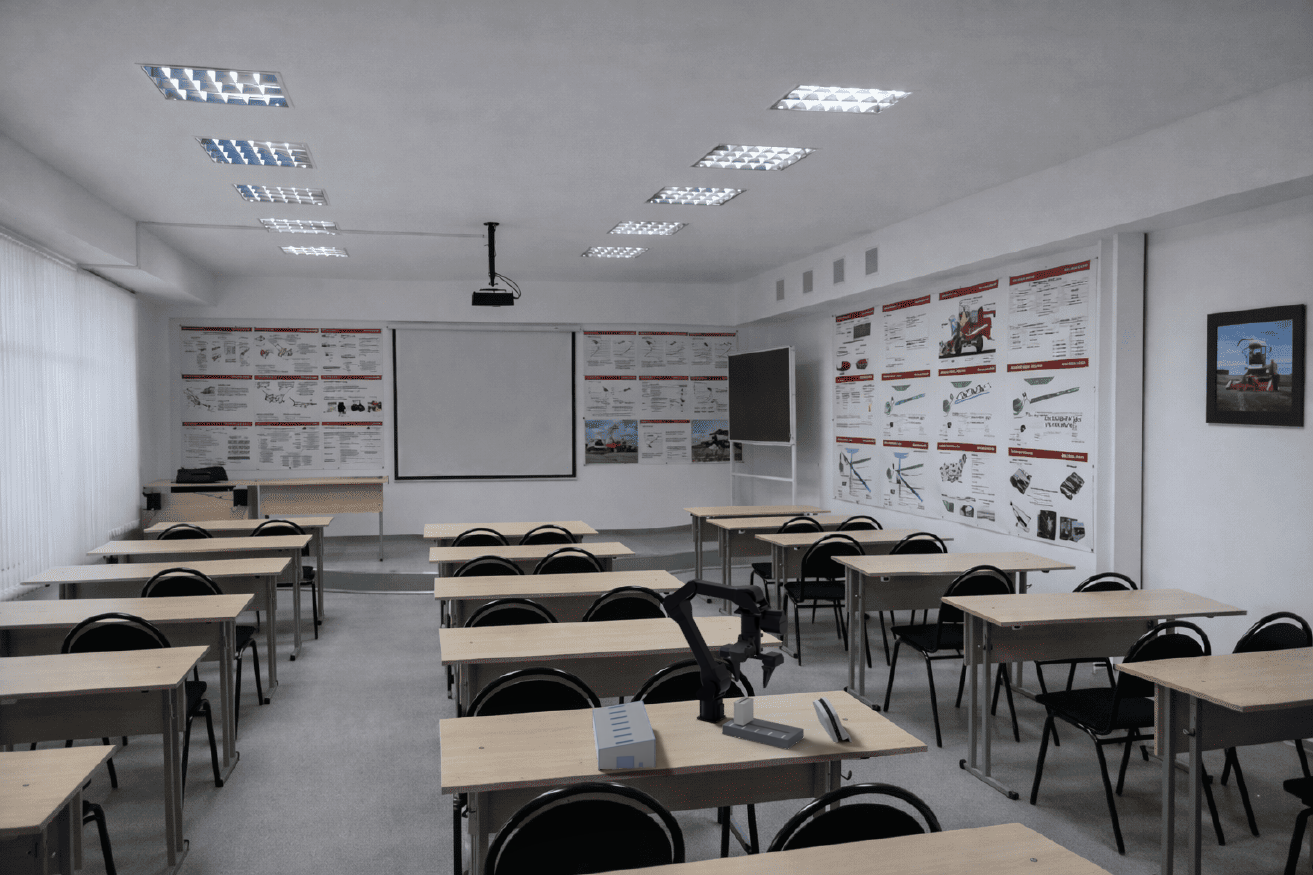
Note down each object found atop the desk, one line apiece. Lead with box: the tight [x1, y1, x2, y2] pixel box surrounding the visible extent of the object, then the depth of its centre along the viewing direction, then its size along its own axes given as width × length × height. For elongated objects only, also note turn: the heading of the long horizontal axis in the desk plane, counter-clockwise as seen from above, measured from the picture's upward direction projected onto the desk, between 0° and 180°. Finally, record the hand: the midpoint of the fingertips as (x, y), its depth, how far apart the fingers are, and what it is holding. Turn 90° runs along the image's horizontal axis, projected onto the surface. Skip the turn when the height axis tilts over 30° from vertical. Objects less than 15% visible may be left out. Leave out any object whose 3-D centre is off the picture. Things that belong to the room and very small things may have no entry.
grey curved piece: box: [812, 696, 853, 743], centre depth 235 cm, size 17×5×10 cm, turn 3°
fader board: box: [721, 717, 805, 750], centre depth 231 cm, size 20×10×3 cm, turn 55°
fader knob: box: [733, 696, 754, 726], centre depth 235 cm, size 3×6×6 cm, turn 145°
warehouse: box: [592, 700, 657, 771], centre depth 224 cm, size 30×14×8 cm, turn 7°
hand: (750, 684), depth 238 cm, fingers open, 9 cm apart
